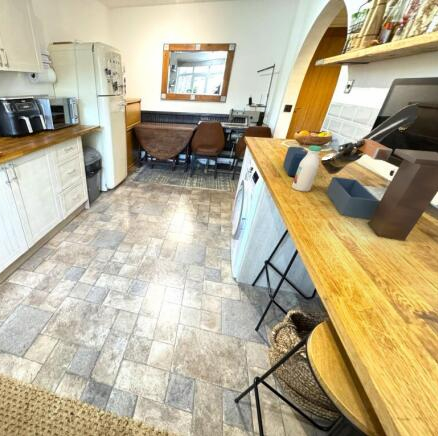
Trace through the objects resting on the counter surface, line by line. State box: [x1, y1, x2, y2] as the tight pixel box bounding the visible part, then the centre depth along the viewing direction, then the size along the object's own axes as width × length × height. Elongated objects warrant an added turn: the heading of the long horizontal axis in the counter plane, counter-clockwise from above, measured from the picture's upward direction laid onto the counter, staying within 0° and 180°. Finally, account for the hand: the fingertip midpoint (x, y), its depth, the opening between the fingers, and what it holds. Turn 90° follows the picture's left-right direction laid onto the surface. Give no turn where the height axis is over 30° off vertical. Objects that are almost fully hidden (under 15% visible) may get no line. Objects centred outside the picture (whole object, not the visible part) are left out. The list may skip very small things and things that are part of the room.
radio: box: [282, 137, 308, 178], centre depth 130 cm, size 21×9×20 cm, turn 162°
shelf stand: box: [367, 148, 438, 242], centre depth 77 cm, size 10×12×26 cm
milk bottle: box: [291, 145, 322, 193], centre depth 109 cm, size 8×8×20 cm
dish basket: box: [325, 176, 380, 220], centre depth 98 cm, size 9×23×8 cm, turn 159°
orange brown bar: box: [358, 138, 393, 162], centre depth 89 cm, size 18×4×4 cm, turn 159°
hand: (370, 142), depth 91 cm, fingers closed on orange brown bar, 3 cm apart
